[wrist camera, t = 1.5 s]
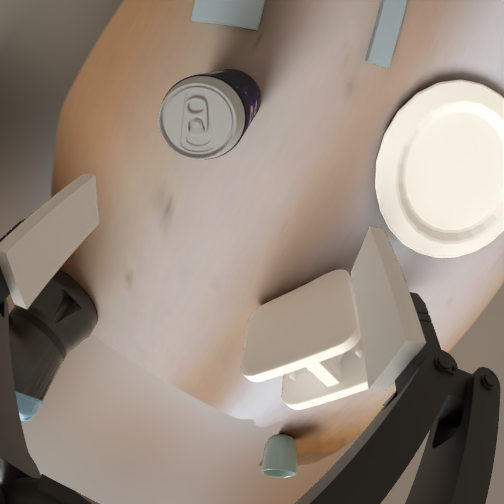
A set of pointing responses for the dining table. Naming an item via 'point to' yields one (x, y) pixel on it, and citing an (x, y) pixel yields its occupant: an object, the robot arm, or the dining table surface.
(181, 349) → the dining table surface
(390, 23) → the l-shaped desk stand
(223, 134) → the beverage can
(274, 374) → the cable organizer
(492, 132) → the plate
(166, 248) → the dining table surface
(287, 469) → the cup
